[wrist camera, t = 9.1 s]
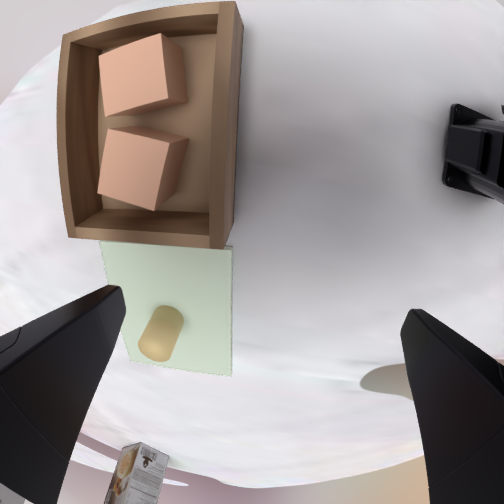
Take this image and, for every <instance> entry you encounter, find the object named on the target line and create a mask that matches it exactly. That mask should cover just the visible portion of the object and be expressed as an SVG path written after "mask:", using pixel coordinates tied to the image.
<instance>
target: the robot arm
mask: <svg viewBox="0 0 504 504" xmlns="http://www.w3.org/2000/svg"><path fill="white" fill-rule="evenodd" d="M501 107H502V112H503V114H504V105H501ZM457 108H458V109H459V112H457ZM445 158H446V161H445V167H444V173H443V183H444V185H446V186H448V187H452V188H455V189H459V190H463V191H467V192H471V193H474V194H478V195H481V196H485V197H488V198H492V199H496V200H497V201H499V202H501V203H503V204H504V122H502V121H495V120H493V119H491V118H489V117H487V116H485V115H483V114H481V113H479V112H476V111H474V110H472V109H470V108H467V107H465V106H463V105H460V104H453V105H452V108H451V119H450V127H449V134H448V142H447V150H446V157H445ZM449 177H450V181H449V182H448V178H449ZM125 315H126V305H125V300H124V295H123V291H122V288H121V287H120V286H116V285H107V286H105V287H102V288H100V289H98V290H96V291H94V292H92V293H89V294H87V295H85V296H83V297H81V298H79V299H77V300H75V301H72V302H70V303H68V304H66V305H64V306H62V307H60V308H58V309H56V310H54V311H51V312H49V313H47V314H45V315H43V316H41V317H39V318H37V319H35V320H33V321H31V322H29V323H27V324H25V325H23V326H22V327H19V328H17V329H15V330H13V331H11V332H9V333H7V334H4V335H2V336H0V504H23V503H24V501H25V499H27V500H28V501H30V502H32V503H34V504H57V500H58V497H59V494H60V490H61V487H62V483H63V480H64V477H65V474H66V470H67V467H68V464H69V460H70V458H71V455H72V452H73V449H74V446H75V443H76V440H77V437H78V435H79V432H80V429H81V427H82V424H83V422H84V419H85V416H86V414H87V411H88V409H89V406H90V404H91V401H92V399H93V396H94V394H95V392H96V389H97V387H98V384H99V382H100V380H101V377H102V375H103V373H104V371H105V368H106V366H107V364H108V362H109V359H110V357H111V355H112V352H113V350H114V347H115V344H116V341H117V338H118V335H119V332H120V329H121V326H122V323H123V321H124V318H125ZM400 335H401V341H402V347H403V352H404V358H405V364H406V370H407V375H408V380H409V383H410V388H411V392H412V396H413V400H414V404H415V409H416V413H417V418H418V423H419V428H420V433H421V438H422V444H423V450H424V456H425V462H426V470H427V477H428V486H429V497H430V504H504V366H503V365H502V364H500V363H498V362H497V361H496V360H495V359H493V358H492V357H491V356H489V355H488V354H487V353H485V352H484V351H482V350H481V349H480V348H478V347H477V346H475V345H474V344H473V343H471V342H470V341H468V340H467V339H465V338H464V337H463V336H461V335H460V334H458V333H457V332H455V331H454V330H452V329H451V328H449V327H448V326H447V325H445V324H444V323H442V322H441V321H439V320H438V319H436V318H435V317H433V316H432V315H430V314H429V313H427V312H426V311H424V310H423V309H411V310H410V311H409V312H408V314H407V316H406V319H405V321H404V324H403V326H402V328H401V333H400Z"/></svg>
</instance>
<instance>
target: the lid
mask: <svg viewBox="0 0 504 504" xmlns="http://www.w3.org/2000/svg"><path fill="white" fill-rule="evenodd" d="M99 242H100V247H101V252H102V257H103V262H104V267H105V272H106V276H107V281H108V285H116V286H120V287H121V288H122V291H123V295H124V300H125V305H126V315H125V318H124V321H123V323H122V326H121V329H120V330H121V333H122V337H123V340H124V343H125V346H126V349H127V352H128V355H129V358H130V361H134V362H139V363H144V364H149V365H154V366H160V367H165V368H171V369H177V370H184V371H190V372H198V373H205V374H213V375H222V376H231V374H232V247H231V246H225V247H224V250H219V249H206V248H194V247H181V246H169V245H156V244H143V243H131V242H118V241H106V240H100V241H99Z"/></svg>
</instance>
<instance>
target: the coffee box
mask: <svg viewBox="0 0 504 504" xmlns="http://www.w3.org/2000/svg"><path fill="white" fill-rule="evenodd" d="M168 458H169V456H168V455H166V454H163V453H161V452H159V451H157V450H155V449H153V448H151V447H149V446H147V445H145V444H143V443H141V442H140V443H137V444H134V445H131V446H128V447H125V448H122V451H121V454H120V457H119V460H118V462H117V465H116V468H115V471H114V474H113V477H112V480H111V483H110V486H109V489H108V492H107V495H106V498H105V501H104V504H157V502H158V498H159V494H160V490H161V486H162V482H163V478H164V474H165V470H166V466H167V462H168Z"/></svg>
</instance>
